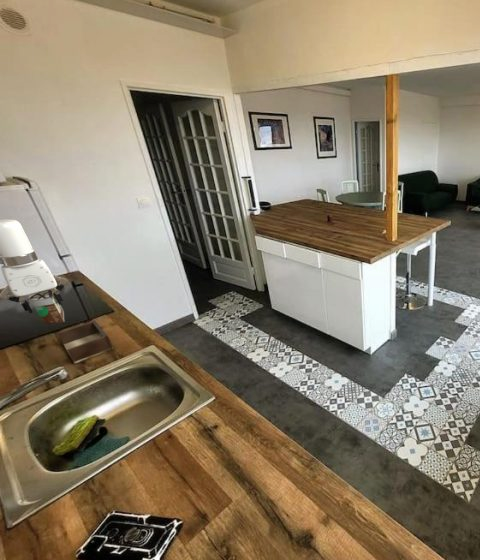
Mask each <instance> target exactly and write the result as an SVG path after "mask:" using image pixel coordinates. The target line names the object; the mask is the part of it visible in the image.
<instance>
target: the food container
mask: <svg viewBox="0 0 480 560" xmlns="http://www.w3.org/2000/svg"><path fill="white" fill-rule="evenodd" d="M26 301H27V302H28V304H29V306H30V307H32V308H33V309H34V310H35V312H36V313H37V314H38V316H39V317H40V319H41V320H42V322H43V323H44V324H46V325H58V324H62V323H65V311H64V309H63V307H62V305H59V304H58V302H57V300H56V298H55V296H54V295H53V291H51V290H50V289H49V290H46V291H42V292H38V293H34V294H30V295H27V299H26Z"/></svg>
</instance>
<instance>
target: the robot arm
mask: <svg viewBox="0 0 480 560" xmlns="http://www.w3.org/2000/svg"><path fill="white" fill-rule="evenodd" d="M0 265H2V266H1V267H0V268H1V272H2V275H3V278H4V280H5V282H6V284H7V285H6V286H5V288H4V289H3V290H2V291H1V292H0V298H1V299H4V300H8V301H10V302H15V303H18V304H19V305H21V306H22V308H23V310H24V311H25V312H28V313H29V314H33V313H34V312H33V310H32V308H31V306H30V305H29V304H28V301H27V299H26V296H29V295H30V294H34V293H38V292H42V291H46V290H49V289H50V290H51V291H53V295H54V296H55V298H56V300H57V302H58V304H59V305H61V306H62V305H63V303H62V302H63V301H64V299H63V297H62V295H61V292H62V291H63V289H64V288H65V286H66V285H67V283H68V282H69V281H68V279H67V278H65V277H61V276H57V275H55V274H52V271H51V270H50V268H49V266H48V265H47V263H46V262H45V261H44V260H43V259H42V258H39V257H38V255H37V253H36V252H35V250H34V247H33V246H32V244H31V242H30V239H29V238H28V236H27V234H26V232H25V230H24V227H23V226H22V224H21V223H20V221H18V220H16V219H11V218H10V219H0ZM57 282H59V283H57ZM10 292H11V293H12V294H13V295H11V294H10Z"/></svg>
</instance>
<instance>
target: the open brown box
mask: <svg viewBox="0 0 480 560" xmlns="http://www.w3.org/2000/svg"><path fill="white" fill-rule="evenodd" d="M57 336H58V337H59V339H60V341H61V343H62V345H63V347H64V349H65V350H66V352H67V354H68V355H69V357H70V359H71V361H72V362H73V364H77V363H80V362H83V361H85V360H87V359H90V358H93V357H96V356H98V355H100V354H103V353H106V352H108V351H112V350H113V349H114V347H113V345H112V342H111V340H110V338H109V335H108V334H107V333H106V332H105V331H104V329H103V328H102V327H101V326H100V324H98V322H97V321H96V320H92V321H90V322H86V323H83V324H80V325H77V326H73V327H70V328H67V329H65V330H61V331H59V332H57Z"/></svg>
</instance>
